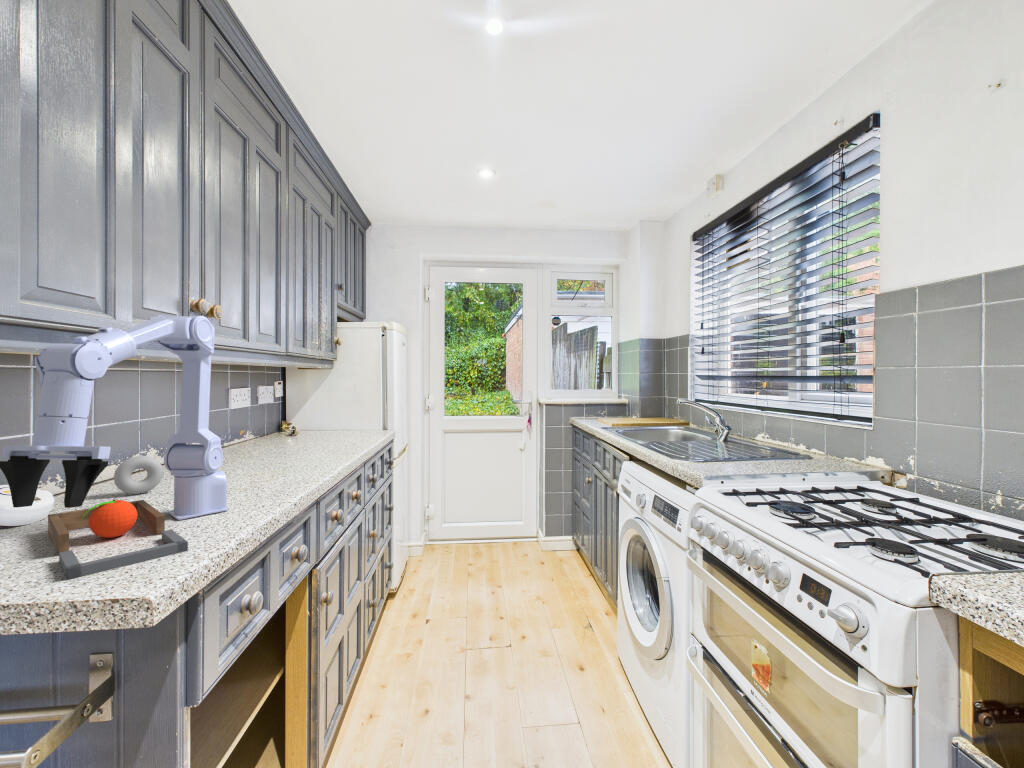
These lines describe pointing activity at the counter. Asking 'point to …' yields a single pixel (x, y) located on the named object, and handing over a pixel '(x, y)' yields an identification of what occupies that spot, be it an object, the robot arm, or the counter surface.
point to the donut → (128, 466)
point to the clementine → (112, 518)
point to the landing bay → (122, 557)
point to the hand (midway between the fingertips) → (47, 506)
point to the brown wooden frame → (73, 520)
